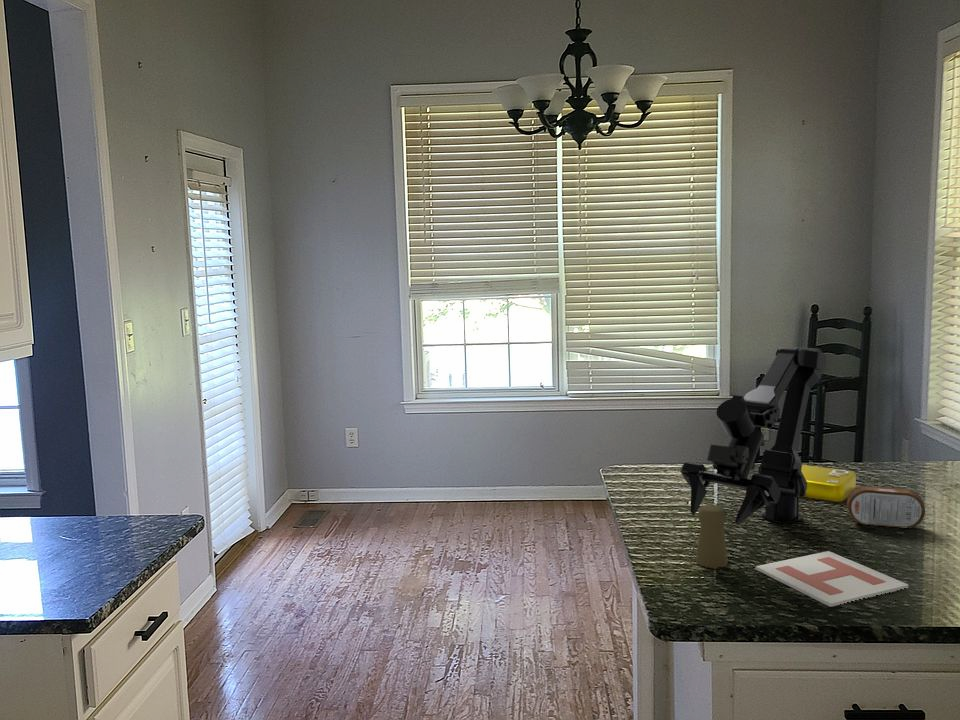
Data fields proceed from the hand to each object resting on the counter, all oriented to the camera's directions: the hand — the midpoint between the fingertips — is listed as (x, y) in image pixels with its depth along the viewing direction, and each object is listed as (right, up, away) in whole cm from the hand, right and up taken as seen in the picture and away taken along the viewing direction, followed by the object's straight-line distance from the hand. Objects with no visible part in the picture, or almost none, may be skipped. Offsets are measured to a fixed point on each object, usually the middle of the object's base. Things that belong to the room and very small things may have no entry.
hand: (714, 518), depth 157 cm
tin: (+42, -5, +19) cm, 46 cm away
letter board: (+19, -9, -8) cm, 22 cm away
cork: (0, -9, +1) cm, 9 cm away
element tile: (+38, -2, +46) cm, 60 cm away
